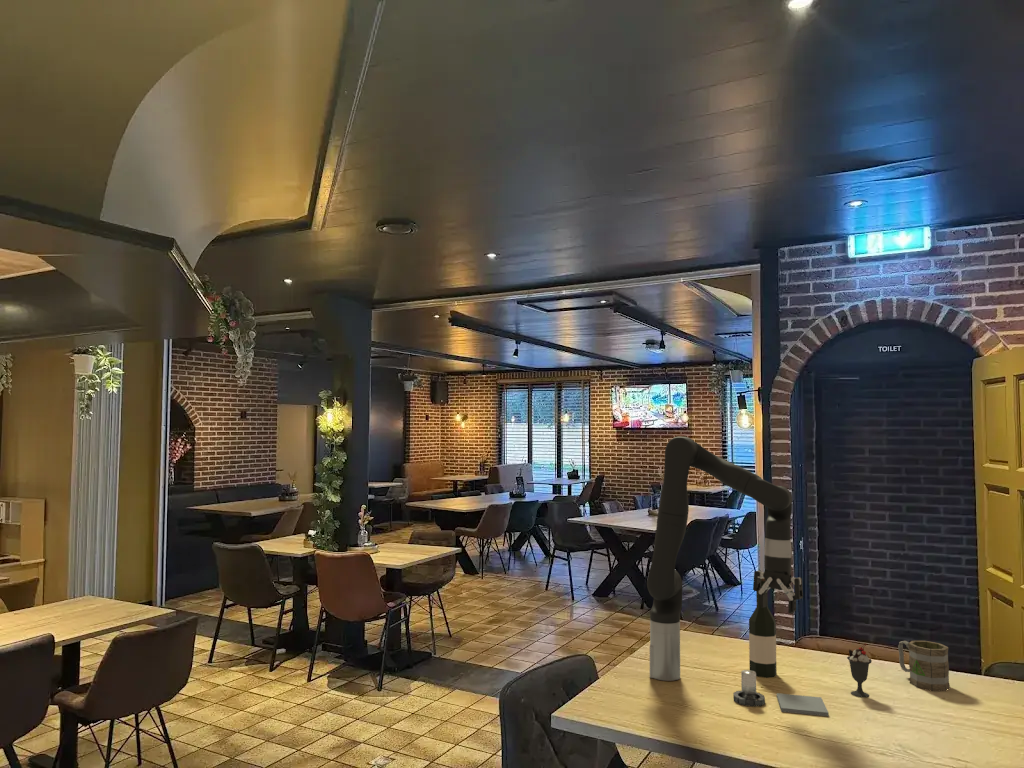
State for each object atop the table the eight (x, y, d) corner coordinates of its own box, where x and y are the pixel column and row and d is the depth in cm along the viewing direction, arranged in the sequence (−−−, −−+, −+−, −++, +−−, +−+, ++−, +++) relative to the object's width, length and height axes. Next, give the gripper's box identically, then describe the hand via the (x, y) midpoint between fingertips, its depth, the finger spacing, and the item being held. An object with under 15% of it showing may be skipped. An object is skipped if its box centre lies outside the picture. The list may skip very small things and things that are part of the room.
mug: (958, 689, 216) (957, 648, 217) (933, 693, 212) (931, 651, 213) (912, 673, 231) (911, 635, 232) (887, 677, 227) (886, 638, 228)
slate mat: (781, 711, 196) (781, 707, 196) (776, 696, 208) (776, 693, 208) (828, 716, 193) (828, 712, 193) (821, 701, 205) (821, 697, 205)
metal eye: (734, 704, 201) (734, 699, 201) (732, 694, 209) (732, 689, 209) (765, 707, 199) (765, 702, 199) (763, 697, 207) (763, 692, 207)
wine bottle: (773, 670, 232) (771, 575, 235) (780, 678, 224) (778, 580, 226) (746, 668, 233) (745, 574, 235) (752, 677, 225) (751, 579, 227)
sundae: (875, 699, 206) (874, 646, 208) (850, 697, 208) (849, 644, 209) (869, 691, 213) (867, 639, 214) (845, 689, 214) (843, 638, 215)
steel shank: (742, 702, 203) (741, 673, 203) (741, 698, 206) (740, 669, 207) (757, 704, 202) (756, 675, 202) (755, 699, 205) (755, 670, 206)
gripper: (749, 551, 215) (748, 607, 213) (795, 559, 204) (794, 617, 203) (761, 549, 220) (761, 603, 219) (807, 556, 209) (806, 613, 208)
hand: (777, 610), depth 211 cm, fingers open, 8 cm apart
